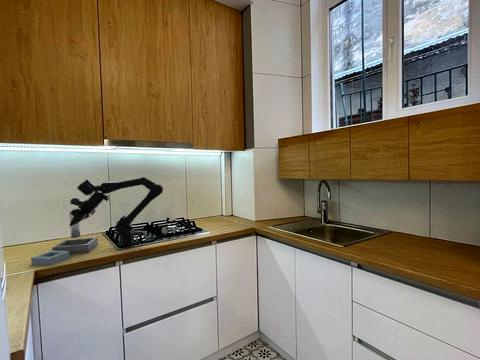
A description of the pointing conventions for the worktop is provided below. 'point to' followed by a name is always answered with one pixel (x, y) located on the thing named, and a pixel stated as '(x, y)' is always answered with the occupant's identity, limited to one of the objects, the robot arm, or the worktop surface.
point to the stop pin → (74, 228)
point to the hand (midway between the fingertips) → (71, 224)
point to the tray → (77, 245)
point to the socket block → (50, 258)
